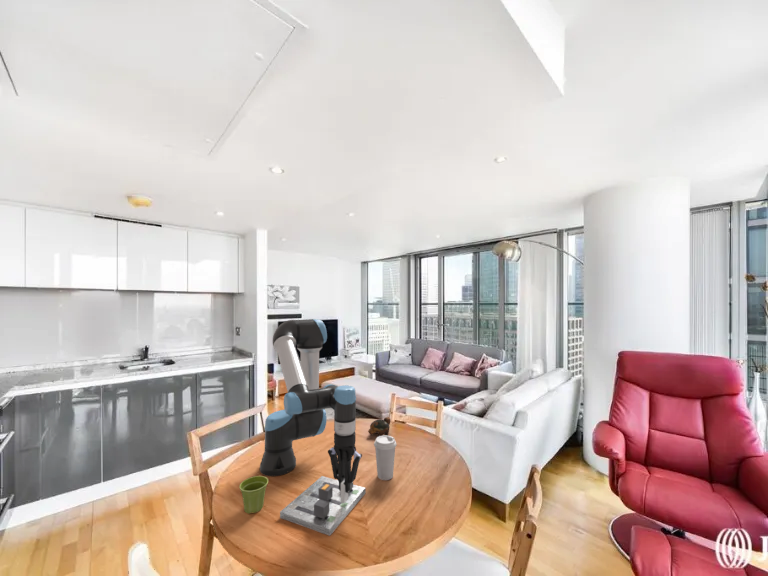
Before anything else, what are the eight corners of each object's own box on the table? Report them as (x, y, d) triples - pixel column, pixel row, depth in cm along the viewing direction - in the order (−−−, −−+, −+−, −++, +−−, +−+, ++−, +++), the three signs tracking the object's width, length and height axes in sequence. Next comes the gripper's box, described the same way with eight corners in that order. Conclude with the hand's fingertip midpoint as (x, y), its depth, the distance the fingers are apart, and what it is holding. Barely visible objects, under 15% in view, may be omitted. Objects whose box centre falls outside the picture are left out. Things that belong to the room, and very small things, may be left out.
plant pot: (250, 521, 104) (250, 494, 104) (233, 511, 109) (233, 485, 109) (273, 505, 112) (273, 480, 112) (256, 497, 117) (257, 473, 117)
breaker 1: (318, 498, 112) (318, 487, 112) (323, 493, 114) (323, 483, 115) (327, 501, 110) (327, 490, 110) (332, 496, 113) (332, 485, 113)
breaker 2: (313, 515, 103) (313, 504, 103) (319, 510, 105) (319, 499, 106) (323, 518, 101) (324, 507, 101) (329, 513, 104) (329, 502, 104)
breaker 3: (339, 489, 117) (340, 479, 117) (344, 484, 120) (344, 475, 120) (349, 491, 116) (349, 482, 116) (353, 487, 118) (353, 477, 119)
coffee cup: (394, 483, 125) (394, 445, 126) (371, 481, 127) (371, 443, 128) (398, 471, 135) (398, 435, 135) (376, 468, 136) (376, 433, 137)
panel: (280, 517, 105) (280, 511, 105) (322, 481, 127) (322, 475, 127) (329, 535, 97) (329, 528, 97) (365, 493, 119) (365, 487, 119)
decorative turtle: (395, 432, 175) (395, 418, 175) (376, 442, 164) (376, 427, 164) (383, 426, 182) (383, 413, 182) (364, 436, 171) (364, 422, 171)
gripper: (323, 432, 109) (322, 502, 108) (355, 439, 104) (355, 512, 103) (335, 425, 116) (334, 490, 115) (366, 430, 111) (366, 499, 110)
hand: (344, 500), depth 109 cm, fingers closed
